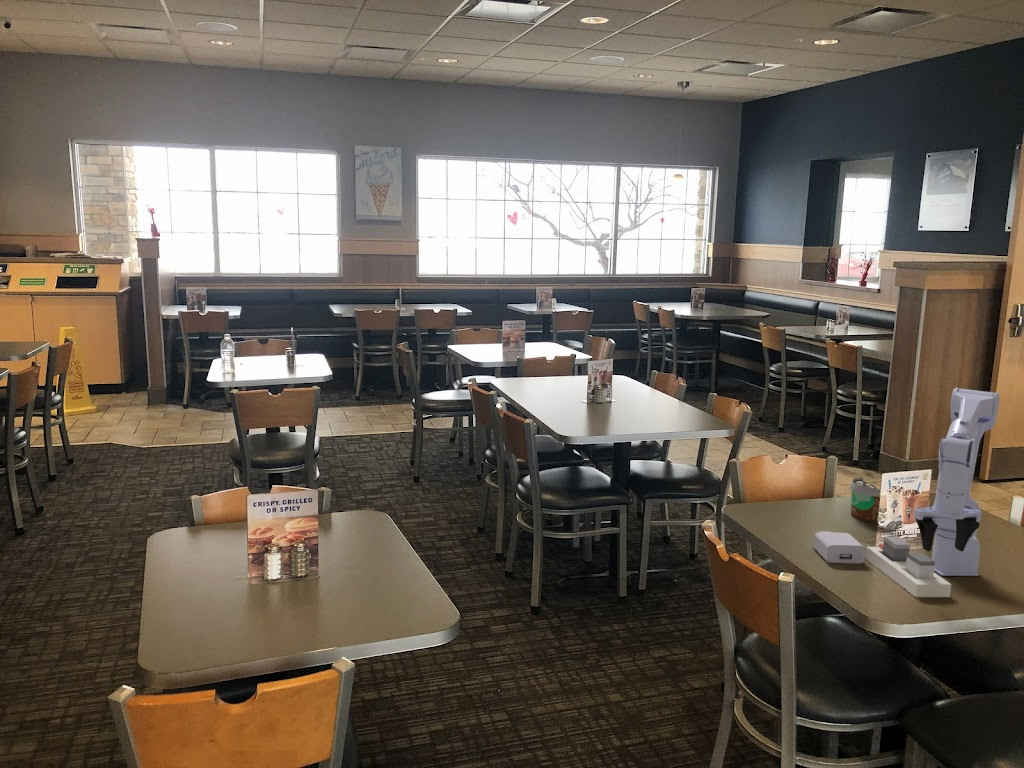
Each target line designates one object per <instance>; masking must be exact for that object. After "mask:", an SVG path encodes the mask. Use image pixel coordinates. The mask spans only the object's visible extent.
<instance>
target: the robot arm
mask: <svg viewBox="0 0 1024 768" xmlns="http://www.w3.org/2000/svg"><path fill="white" fill-rule="evenodd" d="M1000 399H1001V396H1000V393H999V392H991V391H984V390H983V391H982V390H975V389H967V388H960V387H955V388H953V389H952V393H951V396H950V406H949V410H950V419H951V423H950V425H949V428H948V431H947V434H946V437H945V438H941V440H940V442H939V448H938V466H937V470H938V475H937V476H938V478H937V483H936V490H935V491H936V492H935V497H934V502H933V505H932V506H929V507H928V506H927V507H919V508H914V512H913V518H914V520H915V522H916V524H917V527H918V530H919V532H920V536H921V543H922V549H924V550H925V551H926V552H931V551H932V555H931V559H932V560H934V561H935V567H934V572H935V573H936V574H938V575H939V576H941V577H942V576H945V577H946V576H947V577H948V576H949V577H950V576H951V577H952V576H953V577H954V576H956V577H960V576H964V577H966V576H967V577H968V576H969V577H970V576H972V577H975V576H979V575H980V573H979V572H978V569H979V568H978V567H979V560H980V554H981V544H980V541H979V539H978V537H976V536H977V532H978V529H979V528H980V521H981V520H982V515H983V512H982V510H981V507H980V505H979V504H978V502H977V501H976V500H975V499H974V498H972V497H971V495H970V494H971V490H972V483H973V478H974V474H975V467H976V465H977V464H976V463H977V460H978V459H977V458H978V452H979V446H980V443H981V439H982V437H983V435H984V433H985V432H988V431H990V430H993V428H994V426H995V424H996V421H997V416H998V413H999V411H998V410H999V408H1000ZM932 548H933V549H932Z"/></svg>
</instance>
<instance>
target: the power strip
mask: <svg viewBox="0 0 1024 768" xmlns="http://www.w3.org/2000/svg"><path fill="white" fill-rule="evenodd" d="M883 544H884V543H879V544H878V546H866V547H865V558H864V559H866V560H867V561H868V562H869V563H871V564H872V565H873V566H875V567H876V568H877V569H878V570H880V571H881V572H882V573H884V574H885V575H886V576H887V577H889V578H890V579H891V580H893V581H894V582H895V583H896V584H898V585H899V586H900V587H901V586H902V587H901V588H903V589H904V588H905V589H906V591H907V592H908V593H909V592H910V593H911V594H910V593H909V594H910V595H911V596H913V595H914V596H915V597H914V596H913V597H914V598H950V596H951V591H952V584H951V583H950V582H948V581H947V580H946V579H944V578H943V577H942V576H941V575H940V574H938V573H937V572H934V574H933V579H915V578H914V577H912V576H911V575H910V574H908V573H907V572H906V571H905V567H906V562H892V561H891V560H889V559H888V558H887V557H885V556H884V555H883V554H882V552H883ZM905 589H904V590H905Z"/></svg>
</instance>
